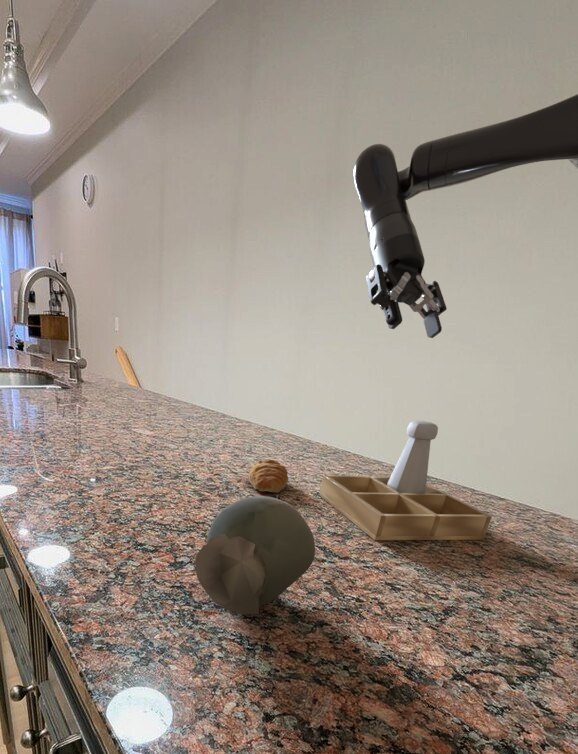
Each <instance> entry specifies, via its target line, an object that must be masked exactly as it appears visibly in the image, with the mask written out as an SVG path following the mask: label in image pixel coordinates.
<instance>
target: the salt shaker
mask: <svg viewBox="0 0 578 754" xmlns="http://www.w3.org/2000/svg"><path fill="white" fill-rule="evenodd" d="M438 431H439V427H438V425H437V424H435V423H433V422H430V421H425V420H412V421H411V422H409V424H408V426H407V427H406V435H407V436H408V439H407V442H406V443H405V445H404V447H403V450H402V451H401V454H400V456H399V458H398V460H397V462H396V464H395V465H394V466H395V467H394V469H393V471H392V473H391V475H390V476H389V477H390V479H389V481H388V483H387V485H388V486H389V487H391V488H393V489H395V490H396V491H398V492H400V493H425V491H426V483H427V482H428V473H429V472H428V470H429V460H430V450H431V441H432V440H435V439H436V438H437V435H438Z"/></svg>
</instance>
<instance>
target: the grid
mask: <svg viewBox="0 0 578 754" xmlns="http://www.w3.org/2000/svg"><path fill="white" fill-rule="evenodd" d="M390 477H391V476H382V475H380V476H379V475H345V474H344V475H341V474H340V475H339V474H323V475H322V478H321V479H322V480H321V484H320V489H319V493H318V495H319V496H320V497H321V498H322V499H323V500H325V501H326V502H327V503H328V504H329V505H331V506H332V507H333V508H335V509H336V510H337V511H338V512H340V514H342V515H343V516H344V517H345V518H347V520H349V521H350V522H352V523H353V524H354V525H355V526H357V527H358V528H359V529H360V530H362V531H363V532H364V533H365V534H366V535H367V536H369V537H370V538H372V539H373V541H472V540H473V541H478V540H479V541H481V540H482V541H483V540H484V539H485V537H486V534H487V531H488V528H489V526H490V524H491V521H492V515H490V514H488V513H486V512H484V511H482V510H480V509H478V508H477V507H474V506H472V505H470V504H468V503H466V502H464V501H462V500H460V499H458V498H456V497H454V496H452V495H450V494H448V493H446V492H444V491H443V490H441V489H439V488H437V487H434V486H432V485H431V484H429V483H427V482H426V491H425V493H400V492H398V491H396V490H395V489H393V488H391V487H389V486H388V485H387V483H388V481H389V479H390Z"/></svg>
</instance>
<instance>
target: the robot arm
mask: <svg viewBox="0 0 578 754" xmlns="http://www.w3.org/2000/svg"><path fill="white" fill-rule="evenodd" d="M558 160H559V161H562V160H568V161H569V162H570V163H571V164H572V165H573V166H574V167H575V168H576V169H577V170H578V93H577V94H575V95H572V96H570V97H568V98H566V99H563V100H561V101H558V102H555V103H554V104H550V105H549V106H546V107H543V108H541V109H538V110H535V111H532V112H530V113H529V112H528V113H526V114H523V115H521V116H517V117H514V118H511V119H508V120H504V121H500V122H497V123H493V124H489V125H486V126H482V127H478V128H474V129H471V130H466V131H462V132H459V133H455V134H451V135H448V136H443V137H440V138H436V139H432V140H429V141H426V142H423V143H421V144H419V145H417V146H416V148H415V149H414V150H413V152H412V155H411V156H410V162H409V166H406V168H404V169H402V170H399V171H398V165H397V161H396V157H395V153H394V152H393V150H392V149H391V148H390V147H389V146H388V145H386V144H383V143H374V144H371V145H368V147H366V148H365V149H363V150H362V151H361V152H360V154H359V155H358V156H357V158H356V160H355V162H354V165H353V169H352V179H353V183H354V187H355V189H356V193H357V197H358V199H359V203H360V205H361V207H362V212H363V218H364V225H365V230H366V234H367V239H368V243H369V246H368V247H369V254H370V257H371V261H372V265H373V269H372V270H371V271H370V272H368V274H367V275H366V276H365V280H366V284H367V290H368V296H369V302H370V303H371V305H373V306H376V305H379V308H380V310H382V311H383V314H384V318H385V322H386V323H387V326H388V329H389V330H390V329H391V330H395V329H396V328H397V327H398V326H400V325H401V324H402V322H403V317H402V316H403V315H402V313H401V308H400V305H399V304H400V303H402V304H405V305H408V306H409V308H410V309H411V310H412V312H414V313H418V314H419V315H420V317H421V318H422V319H423V324H424V329H425V333H426V336H427V338H430V339H434V338H435V337H437V336H438V335H439V334H440V333H441V332H442V331H443V329H442V328H443V327H442V323H441V320H440V317H439V316H440V315H442V314H443V313H445V311H447V305H446V303H445V299H444V296H443V293H442V290H441V287H440V284H439V282H437V281H436V280H433V281H432V282H431V283H426V280H425V279H424V277H423V275H422V273H423V270H424V266H425V264H426V263H425V260H426V259H425V256H424V252H423V249H422V245H421V242H420V239H419V235H418V232H417V229H416V226H415V224H414V222H413V220H412V217H411V213H410V209H409V206H408V203H407V201H408V200H410V199H412V198H414V197H416V196H418V195H420V194H422V193H425V192H430V191H436V190H440V189H444V188H449V187H453V186H457V185H461V184H464V183H468V182H471V181H475V180H477V179H481V178H484V177H487V176H489V175H492V174H497V173H498V172H501V171H504V170H508V169H511V168H515V167H519V166H523V165H529V164H534V163H541V162H549V161H558ZM420 298H422V300H421V301H420V302H419V303H416V302H417V301H418V300H419V299H420ZM424 306H426V309H425V308H424Z"/></svg>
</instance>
